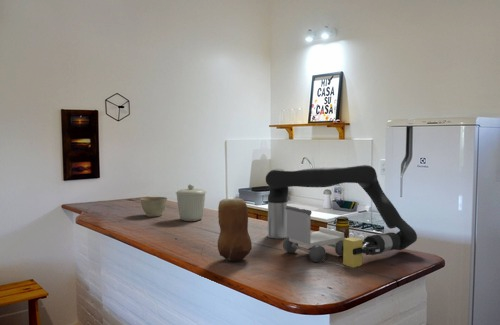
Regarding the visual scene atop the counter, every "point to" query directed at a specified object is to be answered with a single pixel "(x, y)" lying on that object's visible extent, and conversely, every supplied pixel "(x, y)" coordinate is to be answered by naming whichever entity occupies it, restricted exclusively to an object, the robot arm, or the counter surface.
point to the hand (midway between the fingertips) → (348, 250)
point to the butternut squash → (233, 229)
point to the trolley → (309, 235)
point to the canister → (191, 203)
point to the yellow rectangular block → (351, 252)
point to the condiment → (342, 226)
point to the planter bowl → (154, 205)
